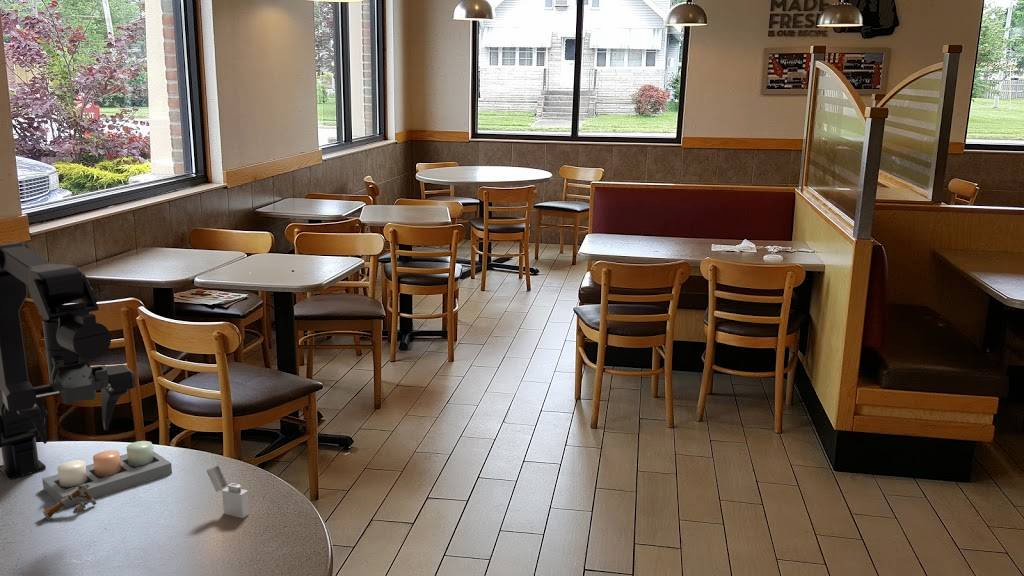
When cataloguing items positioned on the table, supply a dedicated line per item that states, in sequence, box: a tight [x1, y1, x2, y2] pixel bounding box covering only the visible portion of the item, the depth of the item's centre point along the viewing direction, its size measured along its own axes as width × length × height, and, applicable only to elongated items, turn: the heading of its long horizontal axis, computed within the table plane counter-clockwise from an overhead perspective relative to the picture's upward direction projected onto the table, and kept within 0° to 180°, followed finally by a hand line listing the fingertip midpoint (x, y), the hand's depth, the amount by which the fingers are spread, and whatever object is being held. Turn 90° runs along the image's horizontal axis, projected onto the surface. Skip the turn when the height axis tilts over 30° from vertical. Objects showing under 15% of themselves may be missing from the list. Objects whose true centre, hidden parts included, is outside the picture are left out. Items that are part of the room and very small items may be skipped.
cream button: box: [57, 459, 87, 488], centre depth 154 cm, size 4×4×3 cm
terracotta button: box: [92, 449, 121, 477], centre depth 158 cm, size 4×4×3 cm
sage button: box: [126, 440, 154, 467], centre depth 162 cm, size 4×4×3 cm
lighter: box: [206, 464, 250, 519], centre depth 147 cm, size 7×2×8 cm, turn 67°
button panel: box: [41, 450, 173, 508], centre depth 159 cm, size 10×19×2 cm, turn 136°
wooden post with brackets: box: [41, 483, 97, 522], centre depth 147 cm, size 2×8×4 cm, turn 128°
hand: (76, 436), depth 144 cm, fingers open, 9 cm apart
